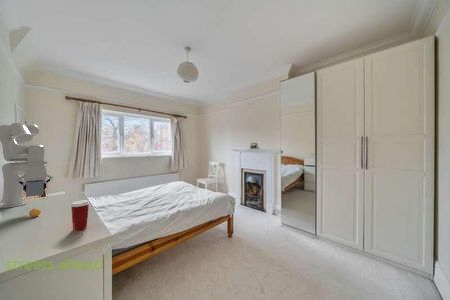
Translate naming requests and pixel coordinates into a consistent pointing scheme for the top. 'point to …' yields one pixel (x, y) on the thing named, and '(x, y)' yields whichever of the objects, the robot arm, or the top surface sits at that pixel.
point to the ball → (34, 212)
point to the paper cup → (79, 214)
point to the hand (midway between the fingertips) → (35, 190)
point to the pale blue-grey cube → (34, 188)
